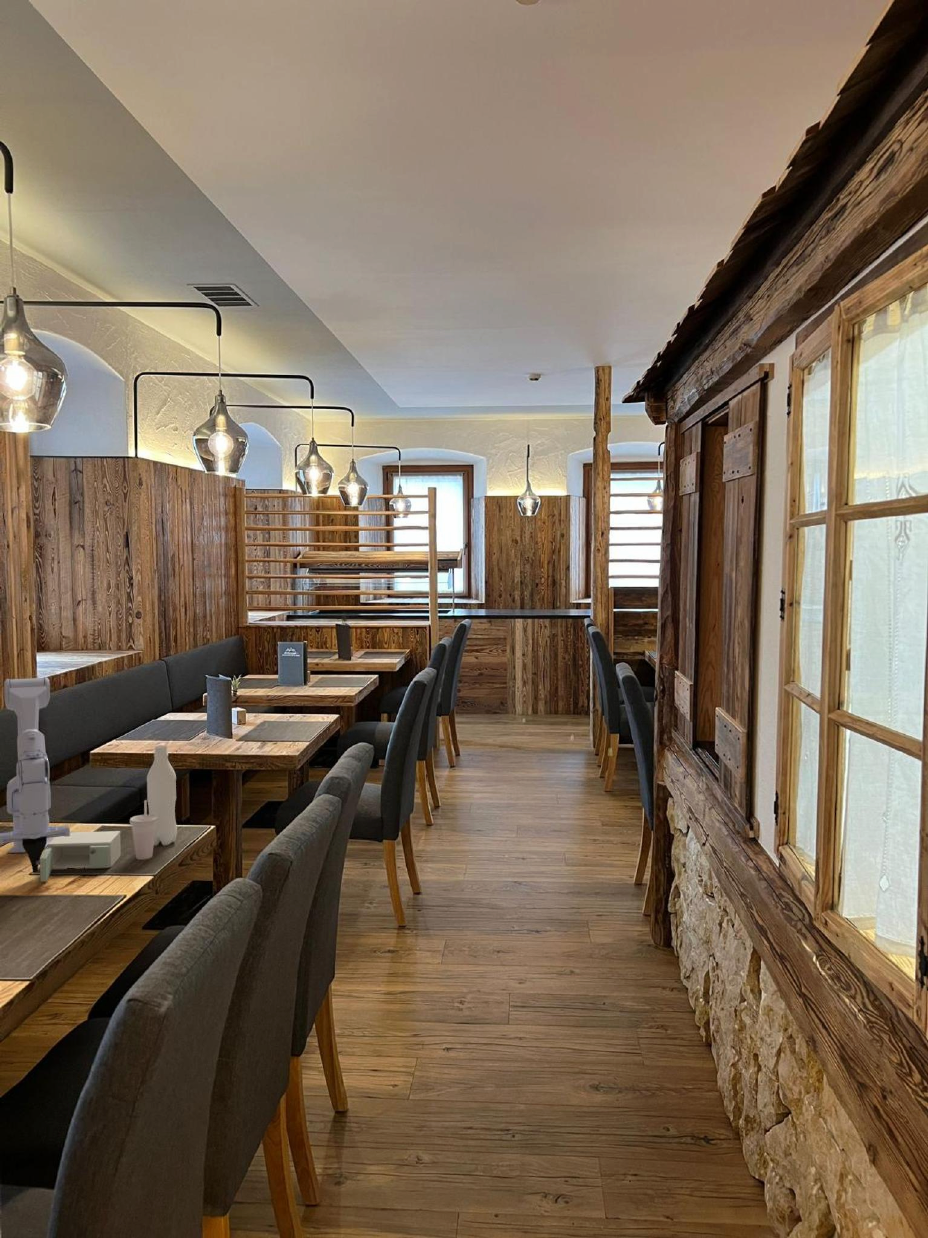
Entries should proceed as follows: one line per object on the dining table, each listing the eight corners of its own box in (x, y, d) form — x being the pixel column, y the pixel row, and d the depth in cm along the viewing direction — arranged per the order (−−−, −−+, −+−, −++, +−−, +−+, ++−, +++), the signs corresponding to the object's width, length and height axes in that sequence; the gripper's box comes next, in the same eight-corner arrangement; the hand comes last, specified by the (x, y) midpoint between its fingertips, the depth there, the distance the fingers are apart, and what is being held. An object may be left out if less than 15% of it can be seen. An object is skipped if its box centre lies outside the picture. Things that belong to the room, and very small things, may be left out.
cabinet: (61, 857, 220) (60, 832, 219) (120, 855, 221) (120, 831, 221) (45, 873, 208) (44, 847, 208) (108, 870, 210) (107, 845, 210)
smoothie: (149, 862, 216) (148, 804, 215) (124, 860, 217) (123, 803, 217) (163, 853, 222) (162, 797, 222) (139, 852, 224) (138, 796, 223)
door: (52, 868, 210) (52, 847, 210) (46, 881, 202) (45, 859, 201) (42, 868, 210) (42, 847, 210) (36, 882, 201) (35, 860, 201)
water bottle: (183, 841, 232) (181, 745, 231) (160, 849, 226) (158, 750, 225) (164, 837, 236) (163, 742, 235) (141, 844, 230) (139, 747, 229)
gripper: (-3, 820, 196) (-2, 881, 197) (70, 812, 203) (71, 871, 204) (-3, 812, 203) (-1, 871, 204) (68, 804, 209) (69, 862, 210)
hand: (35, 871), depth 204 cm, fingers closed
